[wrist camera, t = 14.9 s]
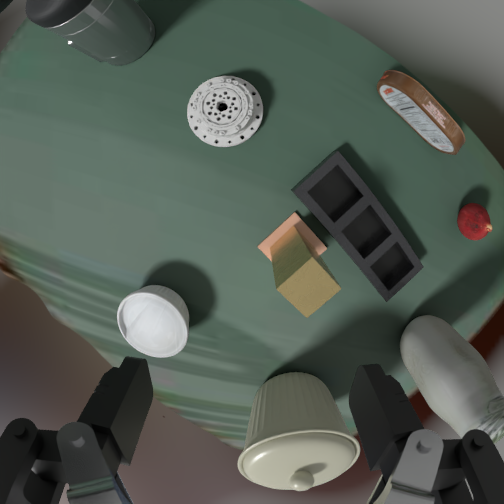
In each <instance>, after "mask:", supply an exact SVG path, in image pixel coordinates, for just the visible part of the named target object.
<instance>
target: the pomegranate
mask: <svg viewBox="0 0 504 504" xmlns="http://www.w3.org/2000/svg"><path fill="white" fill-rule="evenodd" d="M457 223H458V227H459V230H460V231H461V233H462V234H463V235H464V236H465V237H467V238H468V239H470V240H479V239H482V238H483V237H485V236H486V235H487V233H488V232H489V231H490V232H491V231H492V229H493V228H492V225H491V224H490V217H489V215H488V212H487V211H486V209H485V208H483V207H482V206H481V205H479V204H476V203H469V204H467V205H465V206H464V207H463V208H462V209H461V210H460V212H459V214H458V219H457Z"/></svg>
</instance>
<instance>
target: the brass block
mask: <svg viewBox="0 0 504 504" xmlns="http://www.w3.org/2000/svg"><path fill="white" fill-rule="evenodd" d="M270 252H271V258H272V265H273V271H274V277H275V283H276V289H277V290H278V291H279V292H280V293H281V294H282V295H283V296H284V297H285V298H286V299H287V300H288V301H289V302H291V303H292V304H293V305H294V306H295V307H296V308H297V309H298V310H299V311H300V312H301V313H302V314H303V315H304V316H305V317H306V318H308V317H309V316H310V315H311V314H312V313H314V312H315V311H316V310H317V309H318V308H320V307H321V306H322V305H323V304H324V303H325V302H327V301H328V300H329V299H330V298H331V297H332V296H334V295H335V294H336V293H337V292H338V291H339V290H340V289H341V287H340V286H339V284H338V282H337V281H336V279H335V278H334V276H333V275H332V273H331V272H330V270H329V269H328V267H327V266H326V264H325V262H324V261H323V259H322V258H321V256H320V255H319V253H318V252H317V250H316V249H315V248H314V247H313V245H312V244H311V243H310V242H309V241H308V240H307V239H306V238H305V237H304V236H303V235H302V234H301V233H300V232H299V231H298V229H297V228H296V227H295V226H294V225H293V226H292V227H291V228H290V229H289V230H288V231H287V232H286V233H285V234H284V235H283V236H282V237H280V238H279V239H278V240H277V241H276V242H275V243H274V244H273V245H272V246H271V247H270Z"/></svg>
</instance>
